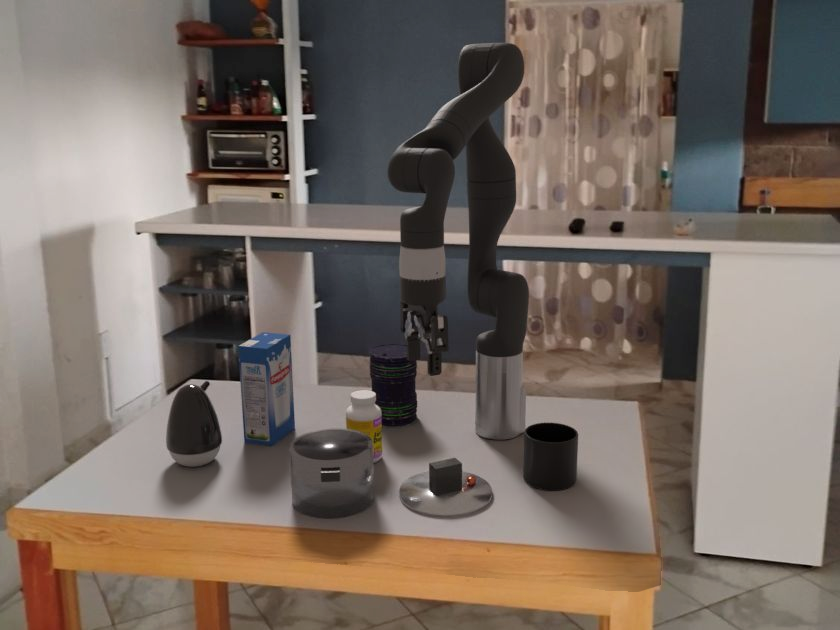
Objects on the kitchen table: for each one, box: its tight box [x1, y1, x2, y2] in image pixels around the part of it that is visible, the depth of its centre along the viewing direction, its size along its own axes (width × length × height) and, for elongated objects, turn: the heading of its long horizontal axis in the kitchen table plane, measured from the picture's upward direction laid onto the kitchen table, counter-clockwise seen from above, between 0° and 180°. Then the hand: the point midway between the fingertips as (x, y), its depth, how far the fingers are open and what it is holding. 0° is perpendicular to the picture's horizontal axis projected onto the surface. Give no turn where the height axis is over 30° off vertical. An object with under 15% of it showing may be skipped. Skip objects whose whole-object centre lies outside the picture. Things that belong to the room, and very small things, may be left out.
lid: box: [398, 457, 493, 518], centre depth 152 cm, size 16×16×6 cm
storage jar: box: [369, 343, 418, 428], centre depth 185 cm, size 10×10×15 cm
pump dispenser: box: [165, 380, 223, 468], centre depth 165 cm, size 10×10×15 cm
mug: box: [522, 422, 579, 491], centre depth 158 cm, size 9×12×9 cm
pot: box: [289, 427, 375, 519], centre depth 151 cm, size 18×14×10 cm
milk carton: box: [237, 331, 296, 447], centre depth 176 cm, size 10×6×20 cm, turn 161°
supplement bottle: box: [345, 389, 383, 464], centre depth 166 cm, size 7×7×13 cm
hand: (423, 367), depth 148 cm, fingers open, 8 cm apart
